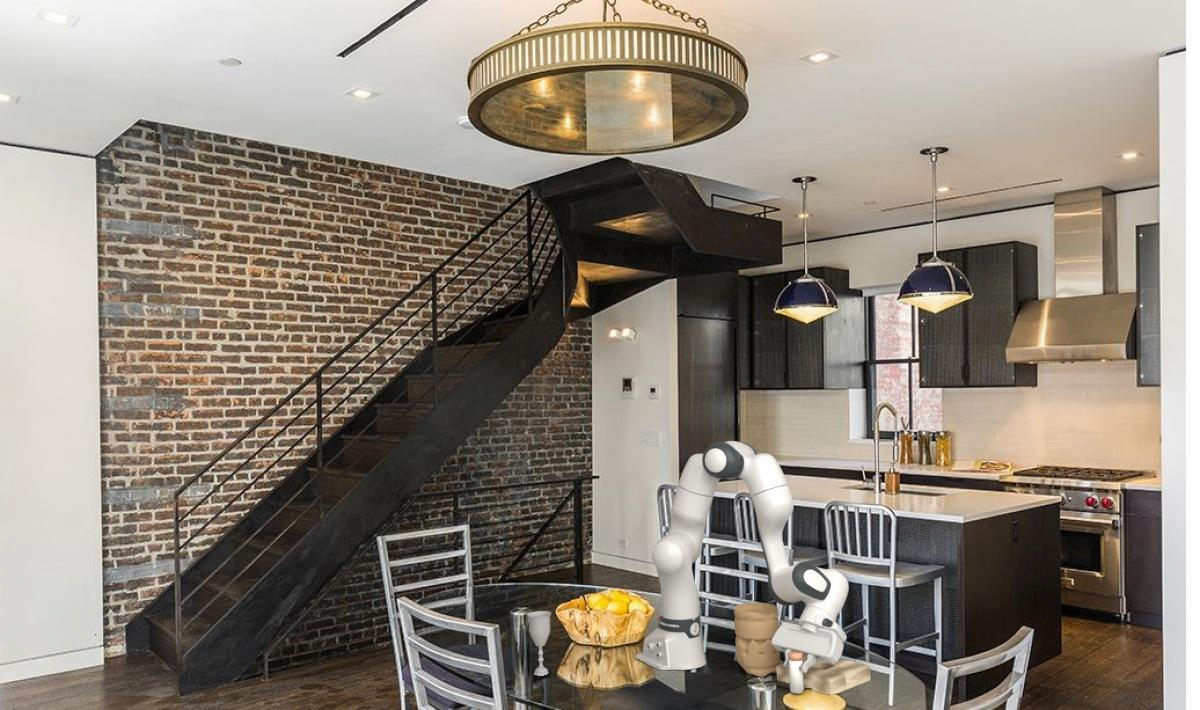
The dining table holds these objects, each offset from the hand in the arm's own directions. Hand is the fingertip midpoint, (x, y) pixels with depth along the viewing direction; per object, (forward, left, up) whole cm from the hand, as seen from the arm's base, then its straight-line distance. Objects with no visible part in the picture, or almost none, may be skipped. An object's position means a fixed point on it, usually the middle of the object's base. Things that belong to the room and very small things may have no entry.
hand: (794, 669), depth 237 cm
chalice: (-63, -37, -7) cm, 73 cm away
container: (-21, +10, -7) cm, 24 cm away
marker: (0, +1, -6) cm, 6 cm away
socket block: (-2, +15, -7) cm, 16 cm away
